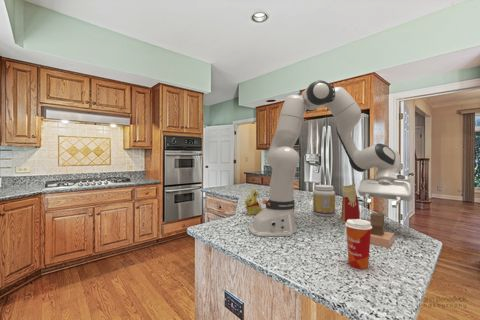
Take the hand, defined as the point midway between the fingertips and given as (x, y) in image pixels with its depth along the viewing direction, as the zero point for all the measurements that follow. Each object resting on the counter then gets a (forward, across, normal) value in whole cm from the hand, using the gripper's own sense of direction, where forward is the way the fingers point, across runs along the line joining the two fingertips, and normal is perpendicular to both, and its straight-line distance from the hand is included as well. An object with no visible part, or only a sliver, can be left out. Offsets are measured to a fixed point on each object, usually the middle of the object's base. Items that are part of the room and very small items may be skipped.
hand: (380, 205), depth 99 cm
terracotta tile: (+14, 0, +6) cm, 15 cm away
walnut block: (+11, 0, +4) cm, 12 cm away
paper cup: (+33, +1, -13) cm, 35 cm away
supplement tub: (-5, -34, +25) cm, 42 cm away
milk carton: (-2, -18, +22) cm, 28 cm away
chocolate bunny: (+14, -64, +6) cm, 66 cm away
